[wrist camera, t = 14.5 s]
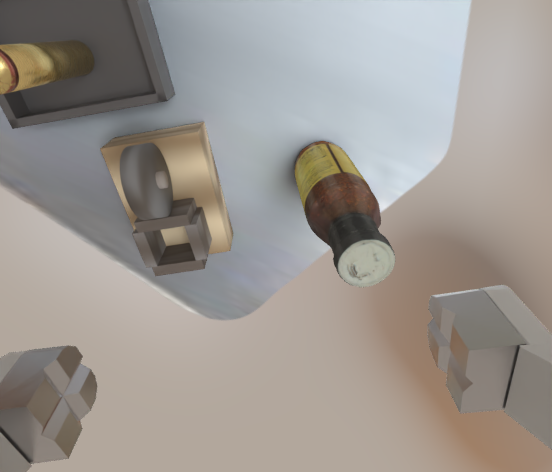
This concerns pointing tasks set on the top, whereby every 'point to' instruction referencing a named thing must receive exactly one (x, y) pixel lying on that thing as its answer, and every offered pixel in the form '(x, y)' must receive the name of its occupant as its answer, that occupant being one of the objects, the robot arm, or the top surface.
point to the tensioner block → (171, 196)
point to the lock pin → (42, 63)
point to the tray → (106, 51)
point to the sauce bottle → (343, 213)
